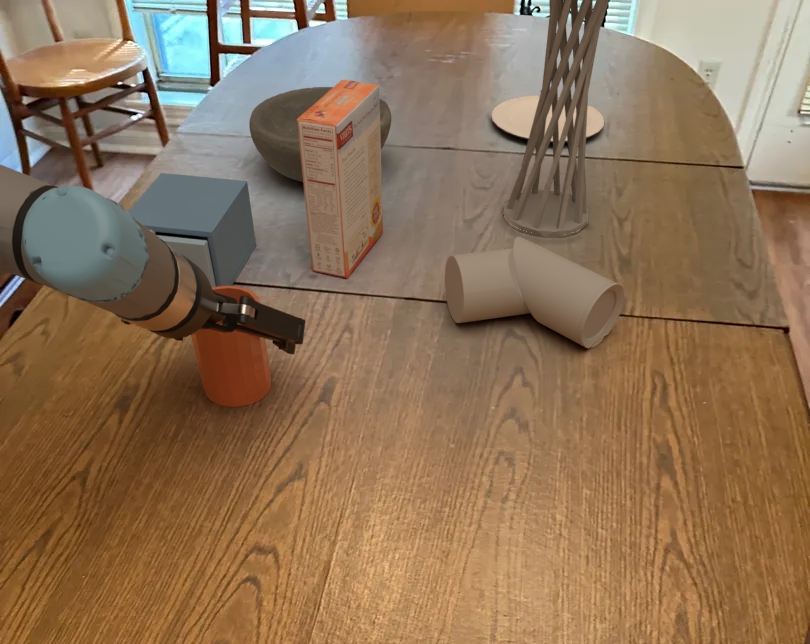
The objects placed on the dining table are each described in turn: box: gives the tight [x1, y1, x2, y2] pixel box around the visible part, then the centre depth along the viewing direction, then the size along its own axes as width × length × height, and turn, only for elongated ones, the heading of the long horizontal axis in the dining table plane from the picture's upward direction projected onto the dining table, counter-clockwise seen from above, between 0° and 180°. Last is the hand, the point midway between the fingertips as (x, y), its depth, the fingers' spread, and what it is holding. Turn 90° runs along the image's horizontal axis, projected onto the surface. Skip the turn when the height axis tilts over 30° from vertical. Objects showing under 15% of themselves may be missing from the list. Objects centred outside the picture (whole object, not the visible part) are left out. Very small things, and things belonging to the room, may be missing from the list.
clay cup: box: [190, 285, 272, 408], centre depth 90 cm, size 8×8×11 cm
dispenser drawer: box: [155, 232, 216, 287], centre depth 105 cm, size 19×11×8 cm, turn 170°
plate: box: [490, 95, 605, 144], centre depth 145 cm, size 21×21×2 cm
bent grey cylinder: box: [444, 236, 625, 349], centre depth 101 cm, size 18×10×20 cm
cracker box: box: [297, 79, 384, 279], centre depth 107 cm, size 14×6×21 cm, turn 159°
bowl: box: [248, 86, 392, 183], centre depth 129 cm, size 23×22×10 cm
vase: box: [502, 0, 610, 239], centre depth 110 cm, size 14×13×35 cm
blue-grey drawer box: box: [127, 172, 257, 287], centre depth 109 cm, size 15×13×10 cm
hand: (236, 335), depth 92 cm, fingers open, 13 cm apart
